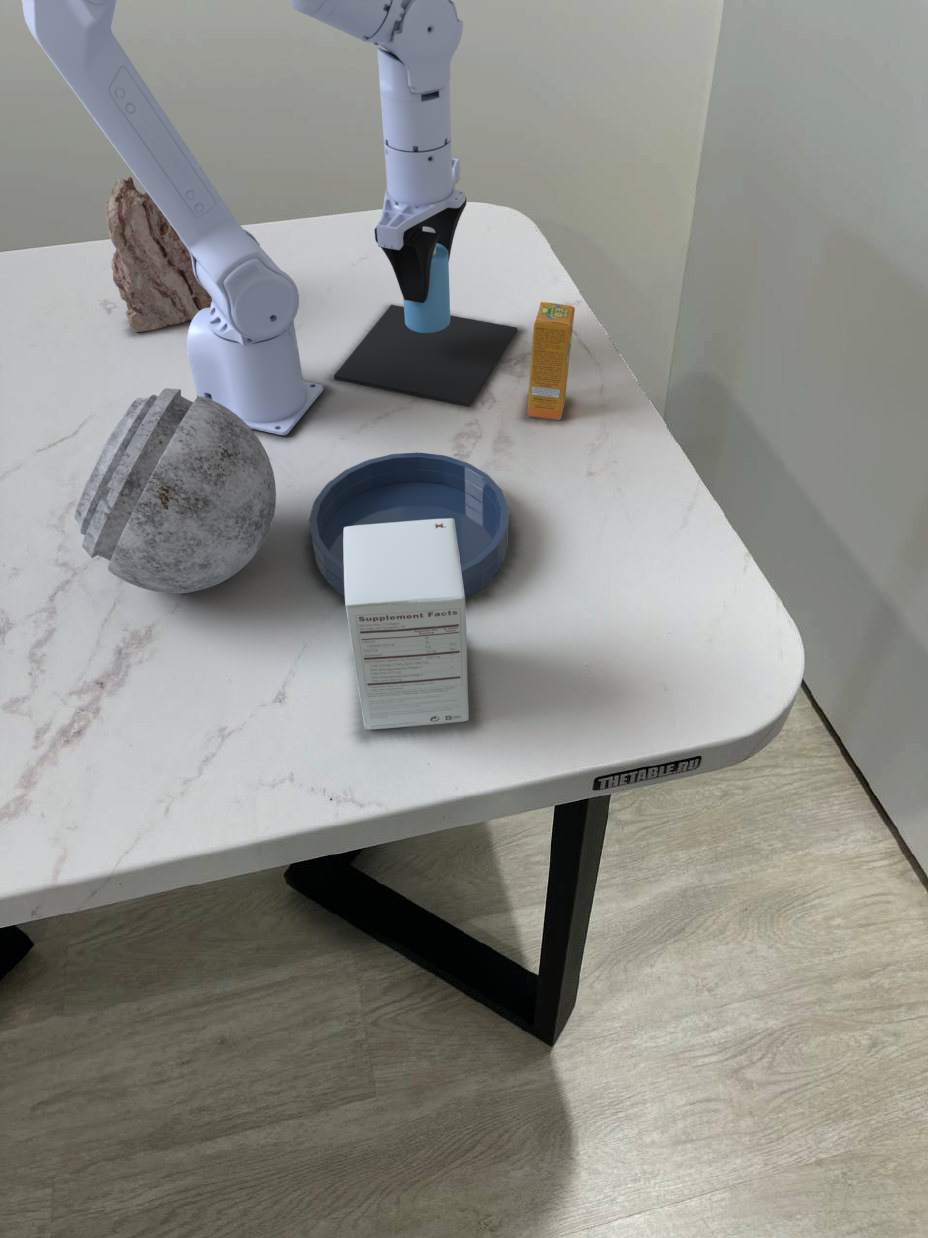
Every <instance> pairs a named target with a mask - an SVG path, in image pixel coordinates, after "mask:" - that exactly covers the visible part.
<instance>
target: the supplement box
mask: <svg viewBox="0 0 928 1238" xmlns="http://www.w3.org/2000/svg"><path fill="white" fill-rule="evenodd" d="M575 310H576V309H575V306H573V305H567V304H562V303H555V302H547V301H546V302H545V301H540V303H539V308H538V311H537V315H536V317H535V319H534V322H533V331H532V342H531V343H532V344H531V353H530V366H529V381H528V383H529V384H528V395H527V411H526V412H527V414H526V415H527V416H528V417H530V418H536V419H545V420H553V421H554V420H556V421H560V420H561V419H562V416H563V412H564V408H565V403H566V397H567V396H566V394H567V387H568V385H567V384H568V377H569V376H568V375H569V366H570V357H571V347H572V339H573V329H574V319H575V312H576V311H575Z"/></svg>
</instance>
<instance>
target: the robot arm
mask: <svg viewBox="0 0 928 1238" xmlns="http://www.w3.org/2000/svg"><path fill="white" fill-rule="evenodd" d="M288 1H289V3H290V4H291V7H292V8H293V9H294V10H295V11H297V12H299V13H301V14H304V15H306V16H308V17H310V18H313V19H315V20H317V21H319V22H321V23H323V24H326V25H328V26H329V27H333V28H334V29H337V30H339V31H341V32H343V33H345V34H347V35H349V36H352V37H354V38H356V39H358V40H361V41H362V42H365V43H369V44H372V45H374V46H380V47H377V50H376V51H377V52H376V53H377V65H378V78H379V79H378V80H379V83H378V85H379V95H380V96H379V97H380V108H381V109H380V110H381V122H382V136H383V137H382V138H383V150H384V151H383V152H384V162H385V175H386V178H385V179H386V188H385V191H384V199H383V204H382V205H383V206H382V213H381V217H380V220H379V221H378V223H377V224H376V227H375V228H374V240H375V242H376V244H377V246H378V247H379V248H381V250H382V252H383V253H384V254H385V257H387V260H388V261H389V263H390V265H391V267H392V269H393V273H394V274H395V278H396V280H397V283H398V286H399V289H400V292H401V295H402V299H403V298H404V300H408V301H413V302H419V303H424V302H425V301H426V299H427V296H428V291H429V280H430V267H431V261H432V257H433V252H434V249H435V246H436V244H437V243H438V244H441V245H443V246H444V247H446V249H447V250H448V261H449V262H450V258H451V253H452V246H453V243H454V237H455V234H456V230H457V227H458V225H459V222H460V218H461V216H462V214H463V212H464V210H465V208H466V206H467V196H466V192H465V191H462V190H457V189H456V184H458V183H459V181H460V180H461V161H460V160H461V159H459V158H457V157H452V119H451V118H452V117H451V83H450V82H451V81H450V80H451V62H452V59H453V57H454V54H455V53H456V51H457V49H458V47H459V45H460V42H461V40H462V35H463V30H464V21H463V20H462V19H460V18H459V17H458V11H457V7H456V4H455V2H454V1H453V0H288ZM116 4H117V0H21V5H22V13H23V17H24V22H25V24H26V26H27V28H28V30H29V32H30V34H31V36H32V37H33V38H34V40H35V41H36V43H37V44H38V45H39V47H40V48H41V49H42V51H43V52H44V53H45V55H46V56H47V58H48V59H49V60H50V61H51V63H52V64H53V66H54V67H55V68H56V70H57V71H58V72H59V74H60V76H61V77H62V78H63V79H64V81H65V82H66V83H67V85H68V86H69V88H70V89H71V90H72V92H73V94H74V95H75V96H76V97H77V99H78V100H79V102H80V103H81V104H82V106H83V107H84V109H86V111H87V112H88V114H89V115H90V116H91V118H92V119H93V120H94V122H95V123H96V125H97V126H98V127H99V129H100V130H101V131H102V133H103V134H104V136H105V138H107V140H108V141H109V142H110V143H111V146H112V147H113V148H114V150H115V151H116V152H117V154H118V155H119V156H120V157H121V159H122V160H123V161H124V163H125V165H127V167H128V168H129V170H130V171H131V172H132V174H133V175H134V177H135V178H136V180H137V181H138V182H139V184H140V185H141V187H142V188H143V189H144V190H145V193H146V192H147V193H148V194H149V196H150V197H151V198H152V200H153V201H154V203H155V204H156V205H157V207H158V208H159V209H160V211H161V212H162V213H163V215H164V216H165V218H166V219H167V220H168V222H169V223H170V225H171V226H172V227H173V229H174V230H175V231H176V233H177V234H178V236H179V238H180V239H181V241H182V242H183V243H184V245H185V246H186V248H187V249H188V251H189V253H190V256H191V260H192V266H193V272H194V275H195V277H196V279H197V281H198V282H199V284H200V285H201V286H202V288H204V289H205V290H206V291H207V292H208V293H209V294H210V296H211V297H212V302H211V308H204V309H202V310H200V311H199V312H198V313H197V314H196V315H195V317H194V318H193V320H192V321H191V322H190V324H189V326H188V330H187V335H186V354H187V359H188V363H189V367H190V371H191V375H192V380H193V383H194V386H195V387H194V388H195V391H196V395H197V397H198V396H202V397H205V398H208V399H211V400H213V401H215V402H217V403H219V404H221V405H223V406H224V407H226V408H228V409H229V410H230V411H232V412H233V413H235V414H236V415H237V416H238V417H239V418H241V419H242V420H243V421H244V422H245V423H246V424H247V425H248V426H249V427H250V428H251V430H256V431H260V432H265V433H270V434H274V435H279V436H286V435H288V434H289V433H290V432H292V430H293V428H294V427H295V426H296V425H297V423H298V422H299V421H300V420H301V419H302V417H303V416H304V415H305V413H306V412H308V410H309V409H310V407H312V405H313V403H315V401H316V400H317V399H318V397H319V396H320V395H321V394H322V393H323V392H324V387H323V385H322V384H320V383H315V382H310V381H305V380H304V376H303V369H302V364H301V357H300V350H299V345H298V338H297V332H296V331H297V330H296V325H295V318H296V316H297V314H298V311H299V306H300V295H299V290H298V287H297V285H296V282H295V281H294V280H293V278H292V277H291V276H290V275H289V274H288V273H287V272H285V271H283V270H282V269H281V268H280V267H279V266H278V265H277V264H276V262H275V261H274V260H273V259H272V258H271V257H270V256H269V255H268V254H267V252H266V251H265V250H264V248H262V247H261V245H260V243H259V242H258V240H257V239H256V237H255V235H253V234H252V233H251V232H249V231H248V230H246V229H244V228H243V227H242V225H241V224H240V222H239V221H238V220H237V219H236V217H235V216H234V215H233V213H232V212H231V209H229V207H228V205H227V204H226V203H225V201H224V199H223V198H222V196H221V195H220V193H219V192H218V190H217V189H216V187H215V186H214V184H213V183H212V181H211V179H210V178H209V177H208V175H207V174H206V172H205V171H204V169H203V168H202V166H201V164H200V163H199V161H198V160H197V159H196V157H195V156H194V153H192V151H191V150H190V148H189V147H188V145H187V144H186V142H185V140H184V138H183V137H182V136H181V134H180V133H179V131H178V130H177V129H176V126H175V125H174V124H173V122H172V121H171V119H170V118H169V116H168V115H167V113H166V112H165V110H164V109H163V107H162V106H161V104H160V102H159V101H158V100H157V98H156V97H155V95H154V93H153V92H152V91H151V89H150V88H149V86H148V85H147V83H146V81H145V80H144V78H143V77H142V76H141V74H140V73H139V71H138V69H137V68H136V66H135V65H134V64H133V62H132V61H131V59H130V57H129V56H128V54H127V53H126V52H125V50H124V48H123V47H122V45H121V44H120V43H119V41H118V40H117V38H116V36H115V35H114V33H113V31H112V25H113V19H114V13H115V9H116ZM423 227H430V228H433V229H434V230H435V233H432V232H426V231H423ZM404 300H403V301H404Z"/></svg>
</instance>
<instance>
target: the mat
mask: <svg viewBox="0 0 928 1238" xmlns="http://www.w3.org/2000/svg"><path fill="white" fill-rule="evenodd" d="M517 332H518V327H516V326H511V325H507V324H506V325H505V324H502V323H501V324H500V323H495V322H489V321H483V320H479V319H473V318H466V317H462V316H456V315H451V314H450V324H449V325H448V326H447V327H446V328H445V329H443V330H441V331H438V332H434V333H419V332H415V331H413V330H411V329H409V328H408V327H407V326H406V324H405V315H404V306H401V305H396V304H391V305H390V306H389V307H388V308H387V309H386V311H384V313H383V314H382V316H381V317H380V318H379V319H378V321H377V322H376V323H375V324H374V326H373V327H372V328H371V329H370V331H368V333H367V334H366V335H365V337H364V338H363V339H362V340H361V342H359V344H358V345H357V346H356V348H355V349H354V350H353V351H352V353H351V354H350V355H349V356H348V357H347V358H346V360H345V361H344V363H343V364H342V365H341V366H340V368H339V369H338V370H336V372H335V374H334V375H333V378H334V379H333V380H338V381H342V382H347V383H353V384H356V385H361V386H367V387H372V388H376V389H382V390H386V391H391V392H396V393H402V394H405V395H411V396H415V397H421V398H425V399H431V400H435V401H440V402H445V403H450V404H454V405H460V406H464V407H471V405H472V404H473V402H474V401H475V399H476V397H477V396H478V394H479V393H480V391H481V389H482V388H483V386H484V384H485V383H486V381H487V380H488V378H489V377H490V375H491V373H492V372H493V370H494V369H495V367H496V365H497V364H498V362H499V361H500V359H501V357H502V356H503V355H504V353H505V351H506V349H507V348H508V346H509V345H510V343H511V342H512V340H513V339H514V337H515V335H516V333H517Z"/></svg>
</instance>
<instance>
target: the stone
mask: <svg viewBox="0 0 928 1238" xmlns="http://www.w3.org/2000/svg"><path fill="white" fill-rule="evenodd" d="M104 208H105V209H104V219H105V223H106V230H107V232H108V236H109V239H110V241H111V243H112V245H113V246H114V248H115V252H114V253H113V255H112V259H111V262H110V268H111V269H112V280H113V283H114V285H115V286H116V287H117V289H118V293H119V296H120V299H122V301H124V302H125V303H126V304H125V305H126V307H127V311H126V313H125V314H126V317H127V319H128V321H129V328H130V329H132V330H133V332H134V333H143V332H149V331H153V330H154V331H155V330H158V329H162V328H165V327H167V326H171V327H172V326H174V325H180V324H182V323H186V322H189V321H191V322H192V320H193V318H194V317H195V315H196V314H197V313H198V312H199V311H200V310H202V309H204V308H211V302H212V297H211V296H210V294H209V293H208V292H207V291H206V290H205V289H204V288H202V286H201V285H200V284H199V282H198V281H197V279H196V277H195V275H194V272H193V266H192V260H191V256H190V253H189V251H188V249H187V248H186V246H185V245H184V243H183V242H182V241H181V239H180V238H179V236H178V234H177V233H176V231H175V230H174V229H173V227H172V226H171V224H170V223H169V222H168V220H167V219H166V218H165V216H164V215H163V213H162V212H161V211H160V209H159V208H158V207H157V205H156V204H155V203H154V201H153V200H152V198H151V197H150V196H149V194H148V193H147V192H146V191H145V193H144V194H143V193H142V192H140V191H138V190H137V188H136V186H135V184H134V179H133V178H132V177H131V176H128V177H127V178H126V179H123V178H122V179H117V180H116V181H115V183H114V186H113V187H112V189H111V192H110V194H109V196H108V200H107V202H106V203H105V204H104Z"/></svg>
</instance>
